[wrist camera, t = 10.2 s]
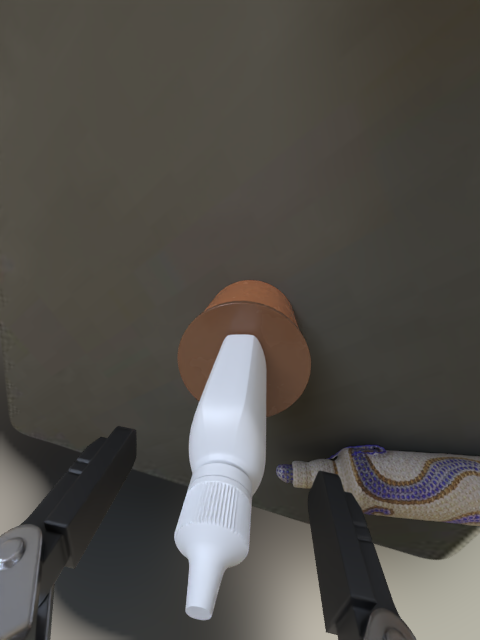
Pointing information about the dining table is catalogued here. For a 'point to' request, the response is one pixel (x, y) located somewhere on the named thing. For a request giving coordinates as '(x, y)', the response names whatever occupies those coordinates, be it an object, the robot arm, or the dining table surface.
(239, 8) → the dining table surface
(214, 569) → the eye dropper bottle
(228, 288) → the copper canister
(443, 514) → the decorative bottle
